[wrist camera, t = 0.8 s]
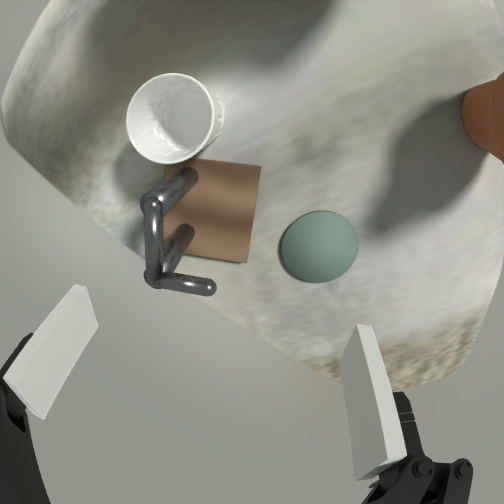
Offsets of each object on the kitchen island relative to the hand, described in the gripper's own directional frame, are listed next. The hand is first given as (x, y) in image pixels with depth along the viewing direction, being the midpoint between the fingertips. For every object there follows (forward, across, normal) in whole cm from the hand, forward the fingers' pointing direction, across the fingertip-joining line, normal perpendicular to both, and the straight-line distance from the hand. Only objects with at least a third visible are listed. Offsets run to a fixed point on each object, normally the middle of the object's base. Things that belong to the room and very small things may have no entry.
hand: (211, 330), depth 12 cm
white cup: (+23, -7, +8) cm, 26 cm away
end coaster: (+23, +10, -6) cm, 26 cm away
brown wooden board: (+23, -5, -3) cm, 24 cm away
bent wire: (+21, -5, -2) cm, 22 cm away
